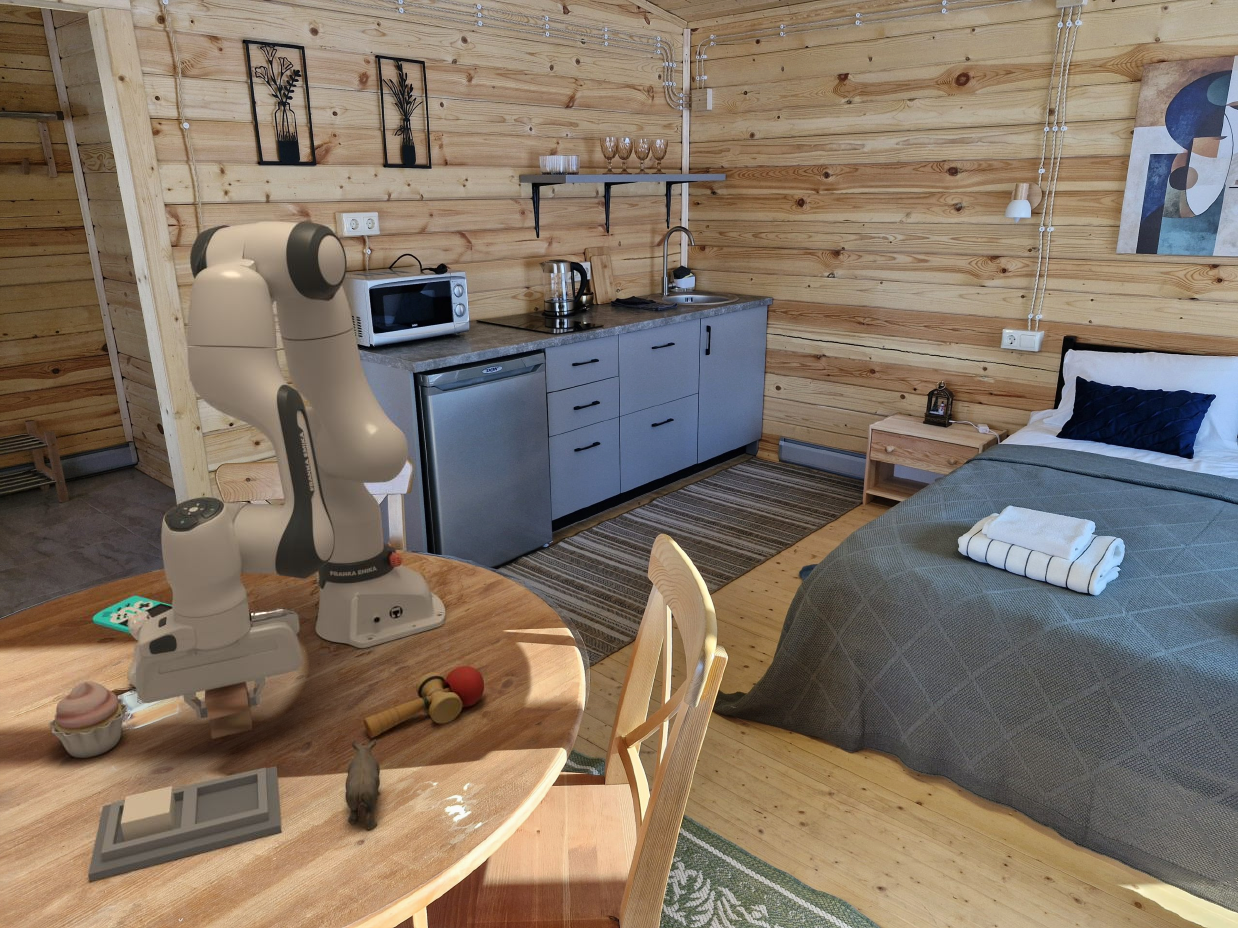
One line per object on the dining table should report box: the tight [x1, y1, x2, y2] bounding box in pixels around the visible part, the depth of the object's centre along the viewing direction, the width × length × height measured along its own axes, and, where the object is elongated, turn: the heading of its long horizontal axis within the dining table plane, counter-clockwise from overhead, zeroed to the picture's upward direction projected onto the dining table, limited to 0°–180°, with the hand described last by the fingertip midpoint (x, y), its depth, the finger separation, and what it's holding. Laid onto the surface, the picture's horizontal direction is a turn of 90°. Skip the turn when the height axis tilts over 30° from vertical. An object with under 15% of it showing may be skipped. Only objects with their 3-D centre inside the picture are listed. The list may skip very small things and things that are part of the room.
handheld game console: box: [92, 595, 172, 635], centre depth 153 cm, size 10×16×1 cm, turn 67°
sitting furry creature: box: [126, 611, 152, 688], centre depth 132 cm, size 10×9×12 cm
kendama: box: [363, 665, 485, 739], centre depth 124 cm, size 8×6×18 cm
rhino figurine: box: [344, 738, 381, 831], centre depth 108 cm, size 4×14×6 cm, turn 14°
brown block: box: [204, 682, 253, 740], centre depth 116 cm, size 5×5×6 cm
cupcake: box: [47, 680, 129, 759], centre depth 116 cm, size 9×9×10 cm
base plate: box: [88, 765, 283, 882], centre depth 103 cm, size 20×12×4 cm, turn 113°
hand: (229, 710), depth 116 cm, fingers closed on brown block, 5 cm apart
